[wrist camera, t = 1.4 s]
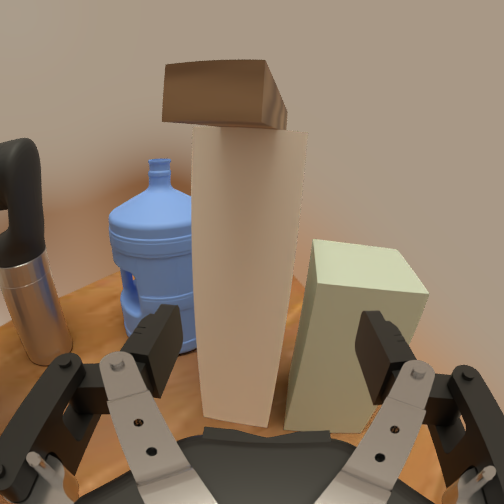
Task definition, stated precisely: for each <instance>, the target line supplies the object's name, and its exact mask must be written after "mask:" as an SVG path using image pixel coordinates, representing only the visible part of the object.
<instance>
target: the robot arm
mask: <svg viewBox="0 0 504 504" xmlns="http://www.w3.org/2000/svg"><path fill="white" fill-rule="evenodd" d="M7 209H8V217H9V227H8V229H7V230H6V231H5V232H3V233H1V234H0V287H1V291H2V294H3V296H4V299H5V302H6V305H7V308H8V310H9V313H10V316H11V318H12V321H13V323H14V326H15V328H16V330H17V333H18V335H19V337H20V340H21V342H22V344H23V346H24V348H25V350H26V353H27V355H28V357H29V359H30V360H31V361H32V362H34V363H35V364H38V365H49V366H48V367H47V369H46V370H45V372H44V373H43V374H42V376H41V377H40V378H39V380H38V381H37V382H36V384H35V385H34V387H33V388H32V389H31V391H30V392H29V394H28V395H27V397H26V398H25V399H24V401H23V402H22V404H21V405H20V407H19V408H18V410H17V411H16V413H15V414H14V416H13V417H12V419H11V420H10V422H9V424H8V425H7V427H6V428H5V430H4V432H3V433H2V435H1V436H0V494H1V495H2V496H3V497H4V498H5V499H6V500H7V501H9V502H10V503H11V504H435V503H433V502H432V501H430V500H429V499H427V498H426V497H424V496H423V495H421V494H420V493H418V492H417V491H415V490H414V489H412V488H411V487H409V486H408V485H407V484H405V483H404V482H402V481H401V480H400V479H398V477H399V475H400V473H401V471H402V469H403V466H404V464H405V462H406V460H407V458H408V456H409V454H410V451H411V449H412V447H413V444H414V442H415V440H416V437H417V435H418V432H419V430H420V427H421V425H422V424H427V425H428V428H429V431H430V434H431V437H432V440H433V443H434V446H435V449H436V453H437V456H438V459H439V463H440V466H441V469H442V473H443V477H444V480H445V484H446V488H447V489H446V490H445V492H444V493H443V496H442V504H504V415H503V413H502V411H501V409H500V407H499V406H498V404H497V402H496V400H495V399H494V397H493V395H492V393H491V392H490V390H489V388H488V387H487V385H486V383H485V382H484V380H483V378H482V377H481V375H480V374H479V372H478V371H477V370H476V369H474V368H473V367H470V366H467V365H460V366H457V367H456V368H455V369H454V370H453V372H452V374H451V375H444V374H435V372H434V370H433V368H432V367H431V366H430V365H429V364H427V363H426V362H423V361H420V360H417V359H416V358H415V356H414V354H413V352H412V351H411V349H410V347H409V345H408V344H407V342H405V339H404V337H403V336H402V334H401V332H400V330H399V329H398V327H397V326H396V325H394V324H393V323H392V322H390V321H386V320H385V319H384V317H383V315H382V314H381V312H380V311H379V310H373V311H363V312H362V313H361V317H360V321H359V326H358V330H357V334H356V339H355V352H356V355H357V358H358V361H359V364H360V367H361V370H362V373H363V376H364V379H365V382H366V385H367V388H368V391H369V394H370V397H371V400H372V403H373V405H381V404H382V406H381V408H380V410H379V412H378V413H377V415H376V417H375V419H374V420H373V422H372V424H371V425H370V427H369V429H368V430H367V432H366V434H365V435H364V437H363V439H362V440H361V442H360V443H359V445H358V446H357V447H355V446H354V445H351V444H349V443H347V442H344V441H341V440H337V439H331V437H330V430H324V431H299V432H295V433H290V434H285V435H280V436H275V437H269V438H266V437H261V436H257V435H253V434H249V433H245V432H242V431H238V430H233V429H221V428H212V427H204V432H203V435H197V436H191V437H187V438H184V439H181V440H179V441H177V442H176V440H175V439H174V437H173V435H172V433H171V432H170V430H169V428H168V426H167V424H166V422H165V420H164V419H163V417H162V415H161V413H160V411H159V409H158V407H157V405H156V403H155V401H154V399H153V397H154V398H161V396H162V393H163V391H164V388H165V386H166V384H167V381H168V379H169V376H170V374H171V371H172V369H173V367H174V364H175V362H176V360H177V357H178V355H179V352H180V350H181V348H182V344H183V330H182V323H181V316H180V309H179V306H178V305H170V304H161V305H160V306H159V308H158V309H157V311H156V312H155V314H149V315H147V316H146V317H144V318H143V319H141V321H140V322H139V324H138V325H137V328H135V330H134V331H133V333H132V334H131V335H130V337H129V338H128V340H127V341H126V343H125V344H124V346H123V347H122V349H121V350H120V351H119V352H113V353H110V354H108V355H106V356H105V357H103V358H102V360H101V361H100V363H96V364H83V363H82V361H81V359H80V357H79V356H78V355H77V354H74V353H70V351H71V349H72V339H71V336H70V333H69V330H68V328H67V325H66V321H65V318H64V315H63V312H62V309H61V306H60V302H59V299H58V295H57V292H56V288H55V284H54V280H53V277H52V273H51V268H50V264H49V260H48V255H47V251H46V245H45V240H44V216H43V206H42V190H41V166H40V158H39V153H38V150H37V147H36V145H35V144H34V142H33V141H32V140H31V139H28V138H20V139H16V140H11V141H7V142H3V143H0V210H7ZM68 403H70V404H69V405H68V407H67V409H66V411H65V413H64V414H63V411H64V409H65V408H66V406H67V404H68ZM101 414H110V415H111V418H112V421H113V424H114V427H115V430H116V433H117V436H118V438H119V441H120V444H121V447H122V449H123V452H124V454H125V457H126V459H127V462H128V464H129V467H130V469H131V470H129V471H128V472H126V473H124V474H122V475H121V476H119V477H117V478H115V479H114V480H112V481H110V482H108V483H106V484H104V485H103V486H101V487H99V488H97V489H95V490H93V491H91V492H89V493H87V494H85V495H83V496H82V497H80V498H79V494H78V492H79V484H78V481H77V479H76V478H75V477H74V476H75V474H76V471H77V469H78V466H79V464H80V462H81V459H82V457H83V454H84V452H85V450H86V448H87V445H88V443H89V441H90V438H91V436H92V434H93V432H94V429H95V427H96V425H97V423H98V421H99V419H100V416H101ZM461 415H462V417H463V419H464V422H465V424H466V431H465V429H464V427H463V424H462V422H461V420H460V416H461ZM78 498H79V499H78Z"/></svg>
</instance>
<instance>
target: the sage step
mask: <svg viewBox="0 0 504 504" xmlns="http://www.w3.org/2000/svg"><path fill="white" fill-rule="evenodd" d="M428 297H429V292H428V291H427V290H426V288H425V287H424V286H423V284H422V282H421V281H420V280H419V278H418V277H417V275H416V274H415V273H414V271H413V270H412V269H411V267H410V266H409V264H408V263H407V262H406V260H405V259H404V258H403V257H402V255H401V254H400V253H399V251H398V250H397V249H389V248H380V247H374V246H366V245H358V244H349V243H342V242H334V241H325V240H317V239H313V242H312V249H311V256H310V262H309V269H308V275H307V281H306V287H305V293H304V299H303V305H302V311H301V316H300V322H299V327H298V332H297V338H296V343H295V348H294V353H293V358H292V363H291V367H290V372H289V380H288V391H287V401H286V411H285V421H284V430H292V431H324V430H330V433H361V432H362V430H363V429H364V427H365V426H366V424H367V423H368V421H369V419H370V418H371V416H372V414H373V413H374V411H375V409H376V408H377V406H378V405H373V403H372V400H371V397H370V394H369V391H368V388H367V385H366V382H365V379H364V376H363V373H362V370H361V367H360V364H359V361H358V358H357V355H356V352H355V339H356V334H357V330H358V326H359V321H360V317H361V313H362V312H363V311H373V310H379V311H380V312H381V314H382V315H383V317H384V319H385V320H386V321H390V322H392V323H393V324H394V325H396V326H397V327H398V329H399V330H400V332H401V334H402V336H403V337H404V339H405V342H407V344H408V345H409V344H410V342H411V339H412V337H413V335H414V332H415V330H416V327H417V325H418V323H419V320H420V318H421V315H422V313H423V310H424V308H425V305H426V302H427V299H428Z"/></svg>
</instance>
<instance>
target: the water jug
mask: <svg viewBox="0 0 504 504" xmlns="http://www.w3.org/2000/svg"><path fill="white" fill-rule="evenodd" d="M148 162H149V165H150V170H149V172H148V175H149V187H148V189H147V190H146V191H144V192H142V193H140V194H139V195H137V196H135V197H133V198H132V199H130V200H128V201H127V202H125V203H123V204H122V205H120V206H118V207H117V208H115V209H114V210H113V211H112V212H111V213H110V215H109V236H110V243H111V246H112V252H113V259H114V262H115V264H116V265H117V266H118V267H120V271H121V277H122V283H123V290H122V293H121V298H120V300H121V306H122V311H123V316H124V324H125V329H126V333H127V335H128V337H130V335H131V334H132V333H133V331H134V330H135V328H137V325H138V324H139V322H140V321H141V319H143V318H144V317H146V316H147V315H149V314H155V312H156V311H157V309H158V308H159V306H160V305H161V304H170V305H178V306H179V309H180V316H181V323H182V330H183V344H182V348H181V350H180V352H179V354H181V353H185V352H188V351H191V350H193V349H195V348H197V343H196V329H195V313H194V294H193V271H192V232H191V196H189V195H187V194H184V193H182V192H180V191H178V190H175V189H173V188H172V186H171V184H170V175H171V170H170V162H171V159H152V160H149V161H148ZM132 275H133V276H134V277H135V280H133V279H132Z"/></svg>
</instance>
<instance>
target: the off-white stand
mask: <svg viewBox="0 0 504 504" xmlns="http://www.w3.org/2000/svg"><path fill="white" fill-rule="evenodd" d="M307 137H308V133H307V132H299V131H288V130H276V129H262V128H243V127H193V137H192V175H191V182H192V183H191V232H192V271H193V294H194V313H195V329H196V343H197V356H198V367H199V378H200V388H201V398H202V407H203V415H204V417H207V418H212V419H217V420H222V421H227V422H233V423H239V424H245V425H251V426H258V427H265V428H267V427H268V422H269V417H270V411H271V406H272V401H273V396H274V390H275V385H276V379H277V373H278V368H279V362H280V356H281V350H282V344H283V338H284V331H285V325H286V318H287V312H288V305H289V298H290V291H291V284H292V277H293V269H294V261H295V253H296V245H297V238H298V228H299V220H300V211H301V202H302V192H303V182H304V172H305V161H306V150H307Z"/></svg>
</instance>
